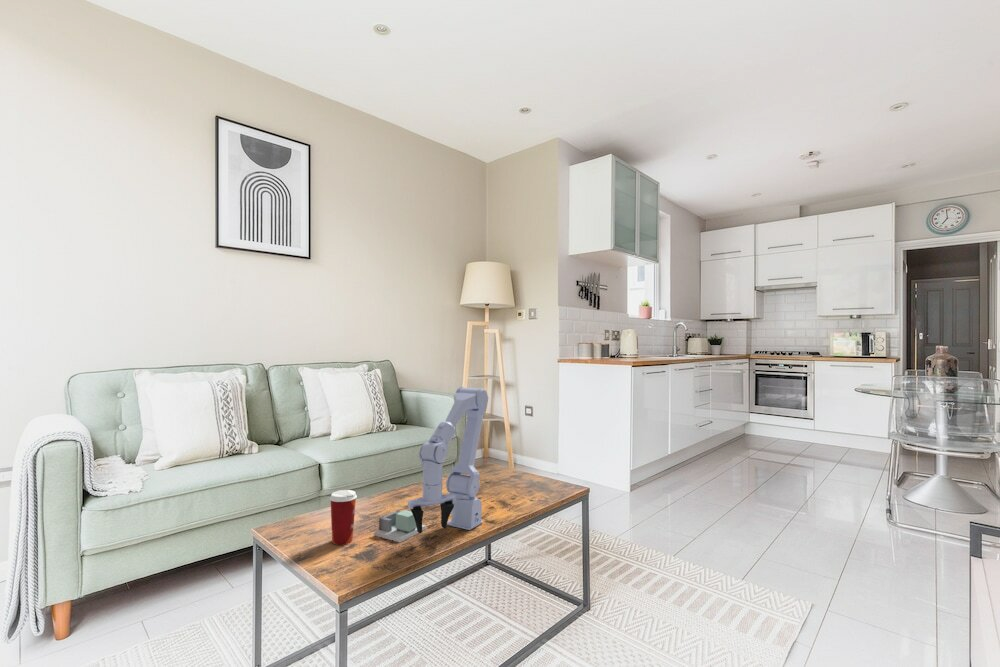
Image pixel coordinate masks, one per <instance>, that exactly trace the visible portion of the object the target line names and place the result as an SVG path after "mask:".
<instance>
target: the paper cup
mask: <svg viewBox="0 0 1000 667" xmlns="http://www.w3.org/2000/svg"><path fill="white" fill-rule="evenodd" d="M357 498H358V496H357V494H356V491H355V490H352V489H340V490H336V491H334V492H332V493H331V494H330V497H329V500H330V520H331V541H332V544H333V545H334V544H336V545H335V546H344V545H343V544H346V545H349V544H350V542H351V541H352V542H353V537H354V524H355V515H356V514H355V512H356V511H355V510H356V499H357ZM352 542H351V543H352ZM348 543H349V544H348Z"/></svg>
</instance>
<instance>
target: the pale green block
mask: <svg viewBox="0 0 1000 667" xmlns="http://www.w3.org/2000/svg"><path fill="white" fill-rule="evenodd" d="M400 511H401V512H399V513H397V514H396V529H397V531H399V530H404V531H405V532H406V533H408V532H409V531H411V530H414V529H416V528H417V527H416V522H415V519H414V516H413V514H412V512H411V510H405V509H403V510H400Z"/></svg>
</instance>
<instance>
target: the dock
mask: <svg viewBox="0 0 1000 667" xmlns="http://www.w3.org/2000/svg"><path fill="white" fill-rule="evenodd" d="M401 511H402V510H398V509H397V510H395V511H392V512H391V513H388V514H386V515H382V516H381V517H379V519H378V529H377V530H375V531H374V536H375V537H379V538H381V537H382V539H386V540H389V541H392V540H393V542H396V543H402V542H404V541H406V540H407V539H410V538H411V537H413V536H415V535H417V534H420V533H419V532H418V531H417V528H416V529H414V530H411V531H409V532H408V533H406V532H405V531H404V530H399V531H397V529H396V514H397V513H399V512H401ZM426 528H427V525H425V524H422V532H423V531H426V530H427V529H426Z"/></svg>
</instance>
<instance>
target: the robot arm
mask: <svg viewBox="0 0 1000 667" xmlns="http://www.w3.org/2000/svg"><path fill="white" fill-rule="evenodd" d="M453 402H454V403H453V405H452V406H451V409H450V411H449V413H448V415H447V417H446V419H445V421H441V422H440V423H439V424H438V426H437V427H436V429H435V430H434V432H433V434H432V436H431V437H430V438H429V440H428V441H425V442H424V443H423V444H422V445H421V446H420V450H419V452H418V457H419V459H420V461H421V467H422V496H421V497H418V498H414V499H410V500H407V508H408V509H409V511H411V512H412V514H413V516H414V519H415V522H416V527H417V531H418V532H419V533H418V534H421V533H422V534H423V531H422V525H423V517H424V516H423V515H424V510H422V507H428V506H434V505H440V513H441V516H440V526H441V528H443V529H447V526H450V527H455V528H458V529H463V530H466V531H467V530H468V531H470V530H472V529H474V528H476V527H477V526H479V525H481V524H482V522H483V520H482V510H483V509H482V500H481V499H480V498H478V497H476V495H477V494H478V492H479V491H480V475H481V473H480V472H479V471H478V470H477V469H476V467H475V461H476V456H477V450H478V446H479V440H480V435H481V430H482V423H483V419H484V415H486V412H487V409H488V408H487V407H488V403H489V394H488V392H487V390H486V389H485V388H483V387H479V388H478V387H464V386H460V387H458V388H457V389H456V391H455V393H454V396H453ZM464 414H465V416H466V421H465V422H466V423H465V428H464V434H463V437H462V443H461V447H460V453H459V458H458V462H457V464H455V465H454V466H453V467H452V468H450V471H449V475H448V476H447V479H446V481H445V489H446V491H447V492H448V493H447V494H443V462H444V461H445V460H446V459H447V456H448V450H449V445H450V443H451V441H452V440H453V437H454V436H455V434H456V427H457V424H458V423H459V422H460V420H461V418H462V417H463V416H464ZM450 515H451V516H450ZM449 518H450V520H449ZM483 523H484V522H483Z"/></svg>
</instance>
